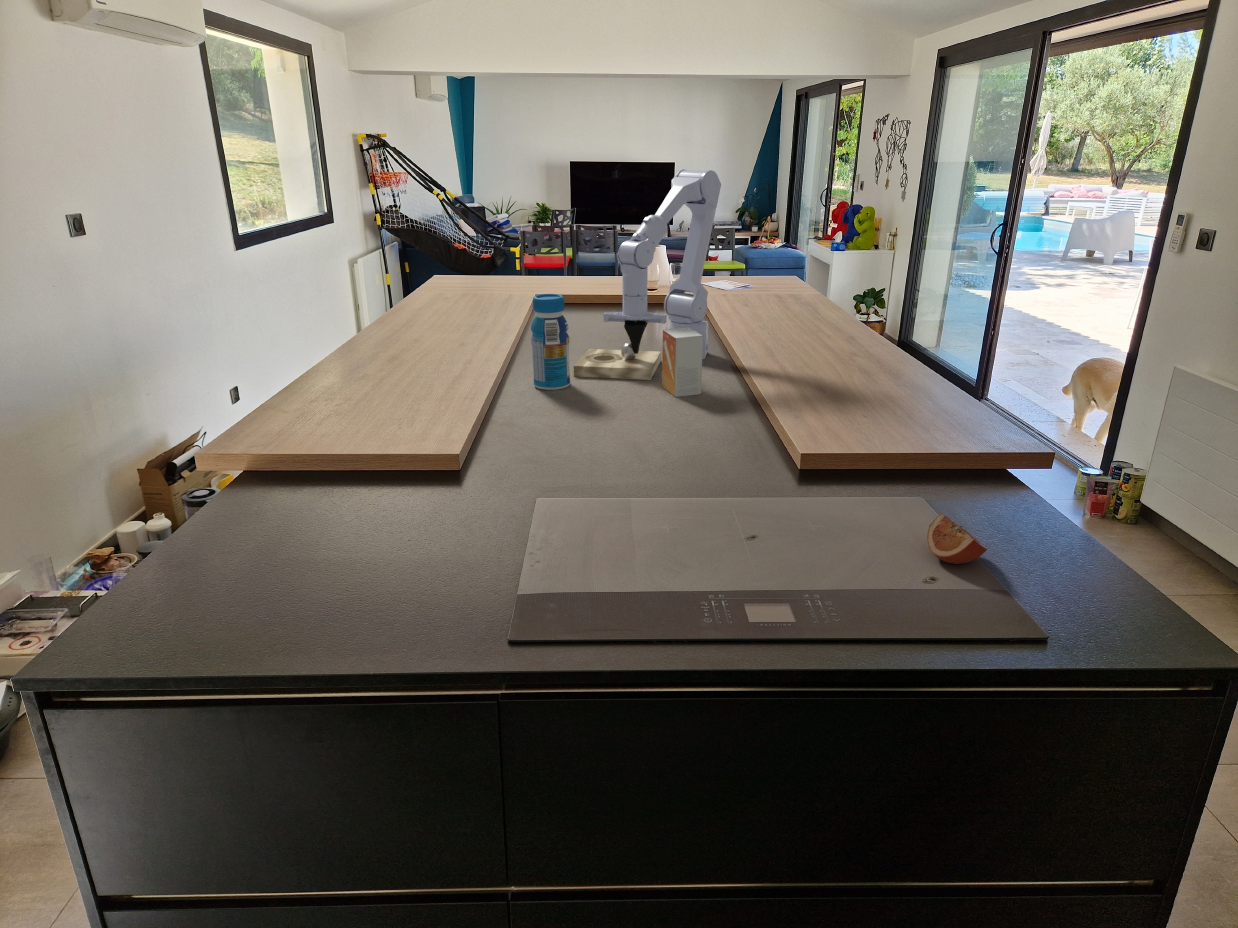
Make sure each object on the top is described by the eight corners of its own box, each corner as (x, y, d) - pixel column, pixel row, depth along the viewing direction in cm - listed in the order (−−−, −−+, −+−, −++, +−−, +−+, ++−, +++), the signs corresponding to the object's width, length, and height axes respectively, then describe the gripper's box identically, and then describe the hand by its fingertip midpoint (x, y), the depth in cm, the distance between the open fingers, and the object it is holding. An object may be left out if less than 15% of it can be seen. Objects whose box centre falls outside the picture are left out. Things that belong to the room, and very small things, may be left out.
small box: (661, 387, 180) (662, 329, 175) (688, 384, 182) (689, 326, 177) (674, 397, 173) (675, 337, 168) (702, 394, 175) (703, 335, 170)
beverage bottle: (525, 388, 181) (520, 298, 173) (546, 378, 187) (542, 291, 180) (558, 393, 177) (554, 301, 169) (577, 383, 184) (575, 294, 176)
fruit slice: (915, 545, 111) (920, 512, 109) (961, 542, 112) (967, 509, 110) (945, 575, 104) (950, 541, 102) (994, 572, 104) (1001, 537, 102)
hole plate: (660, 361, 200) (660, 351, 199) (650, 379, 186) (650, 369, 185) (589, 358, 203) (589, 348, 202) (573, 376, 189) (573, 365, 188)
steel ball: (641, 344, 193) (625, 337, 193) (639, 350, 189) (623, 343, 189) (634, 358, 195) (619, 352, 195) (633, 364, 191) (617, 358, 191)
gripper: (600, 296, 184) (601, 355, 189) (664, 298, 182) (663, 357, 187) (606, 291, 191) (607, 348, 196) (668, 293, 188) (667, 351, 193)
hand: (634, 352), depth 192 cm, fingers closed, pressing on steel ball
